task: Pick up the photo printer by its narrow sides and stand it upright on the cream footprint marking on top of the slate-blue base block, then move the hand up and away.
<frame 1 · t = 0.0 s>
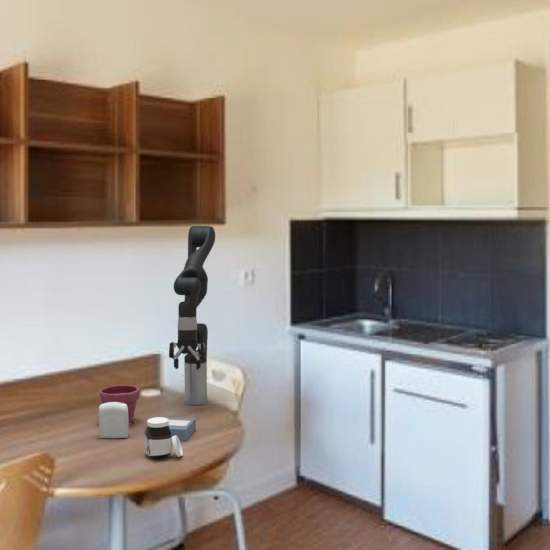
hand: (187, 369, 261), 17 cm above the table, fingers open, 8 cm apart
spread jar: (164, 456, 214), on the table
base block: (171, 434, 235), on the table
plant pot: (120, 423, 248), on the table
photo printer: (114, 437, 231), on the table
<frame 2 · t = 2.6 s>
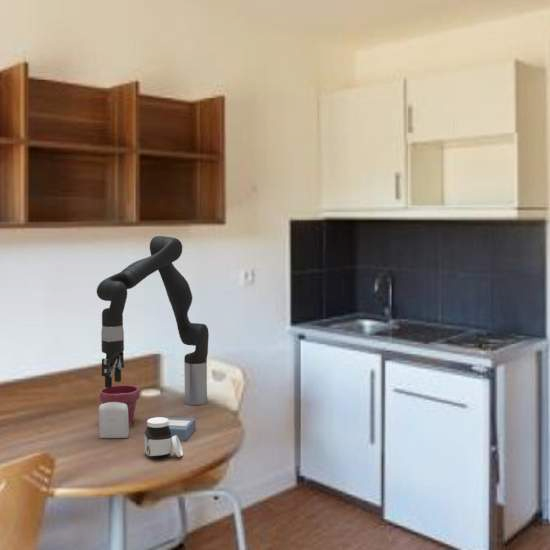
hand: (113, 384, 230), 19 cm above the table, fingers open, 8 cm apart
nothing on the table moved.
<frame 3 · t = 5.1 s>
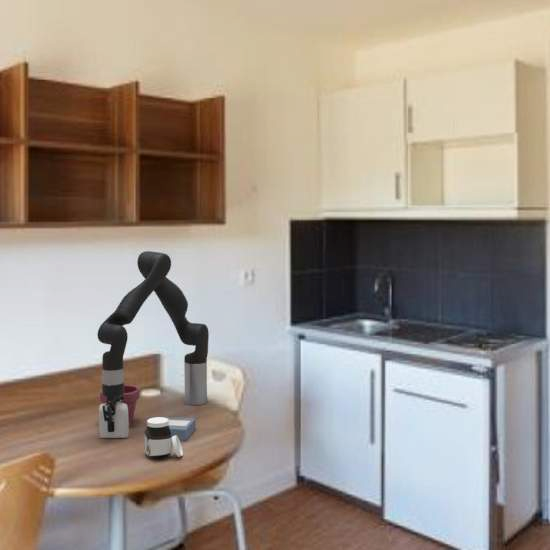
hand: (113, 429, 231), 3 cm above the table, fingers closed on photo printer, 4 cm apart
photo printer: (114, 437, 232), on the table, touching gripper
everything else where it was.
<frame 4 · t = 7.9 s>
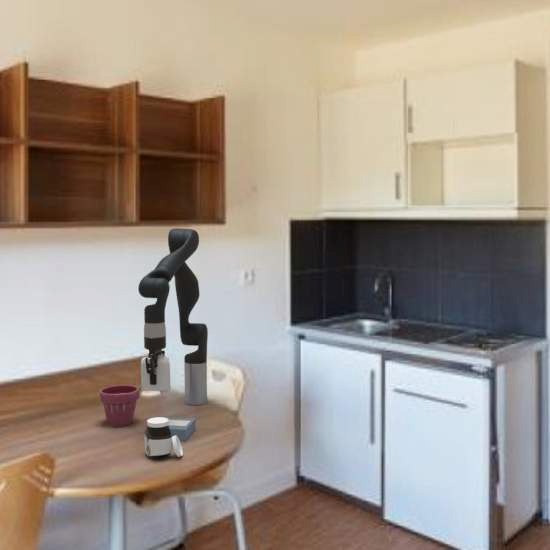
hand: (155, 382, 233), 19 cm above the table, fingers closed on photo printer, 4 cm apart
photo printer: (155, 390, 233), point 16 cm above the table, touching gripper
everything else where it was.
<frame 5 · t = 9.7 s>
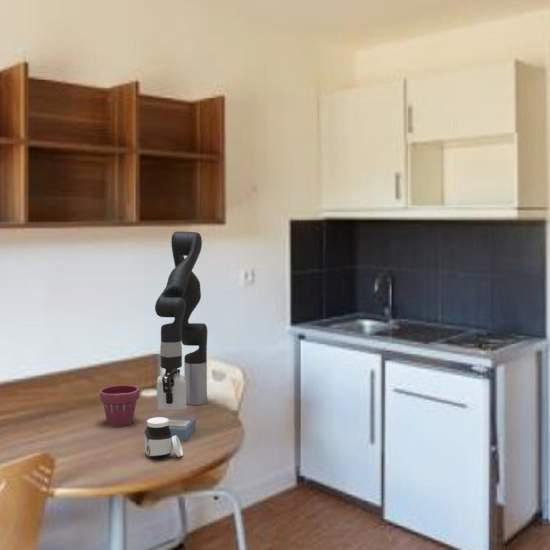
hand: (171, 401, 234), 12 cm above the table, fingers closed on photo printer, 4 cm apart
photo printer: (171, 409, 234), point 9 cm above the table, touching gripper
everything else where it was.
when the fingers open (8 cm above the table, at t = 11.2 s): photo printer drops 1 cm, resting on base block.
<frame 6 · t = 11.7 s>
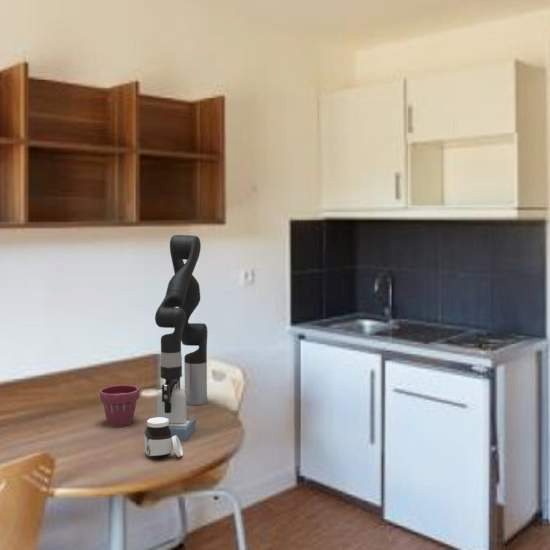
hand: (171, 409, 234), 9 cm above the table, fingers open, 8 cm apart
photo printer: (171, 422, 235), point 4 cm above the table, touching base block
everything else where it was.
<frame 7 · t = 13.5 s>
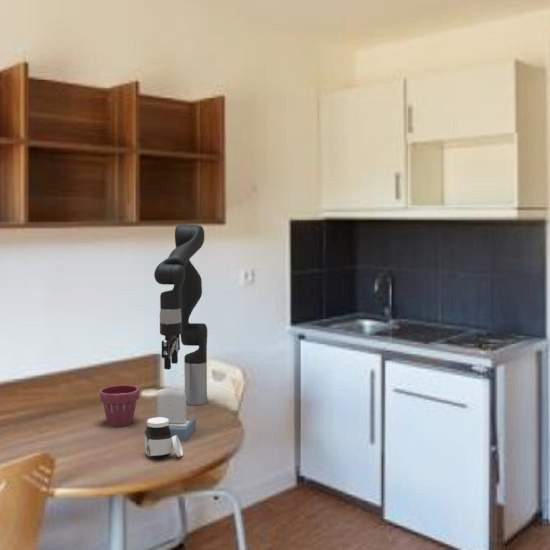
hand: (171, 366, 235), 24 cm above the table, fingers open, 8 cm apart
nothing on the table moved.
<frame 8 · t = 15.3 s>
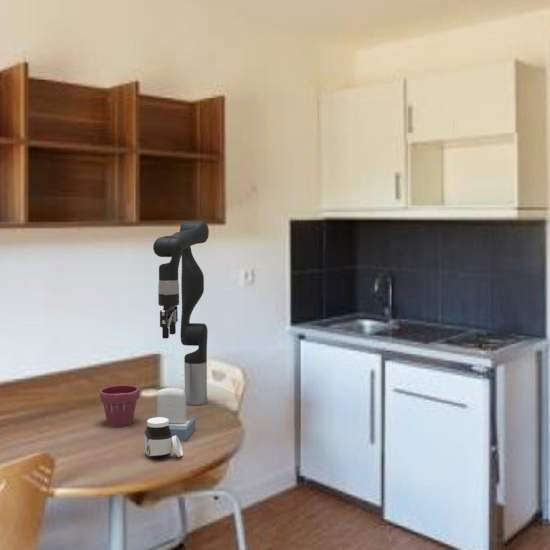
hand: (169, 336, 244), 33 cm above the table, fingers open, 8 cm apart
nothing on the table moved.
at the end: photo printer 0.1 cm off-centre on the base block, point 4.0 cm above the base block's base; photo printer tilted 0°; the gripper is holding nothing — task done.
